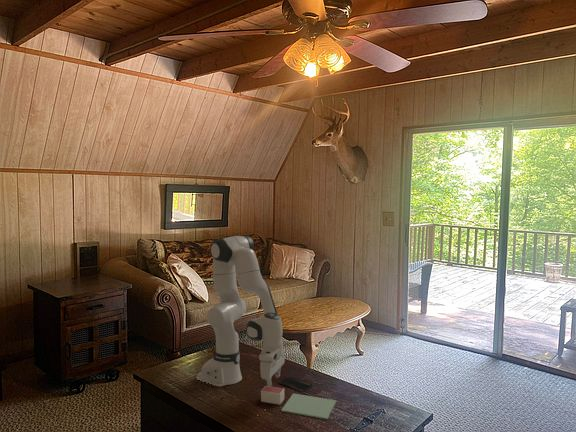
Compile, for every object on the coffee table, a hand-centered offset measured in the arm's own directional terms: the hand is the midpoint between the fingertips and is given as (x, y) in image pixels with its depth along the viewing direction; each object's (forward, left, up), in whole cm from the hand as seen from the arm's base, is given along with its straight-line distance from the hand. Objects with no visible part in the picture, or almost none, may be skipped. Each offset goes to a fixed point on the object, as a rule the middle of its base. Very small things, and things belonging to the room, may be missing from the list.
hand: (273, 381), depth 191 cm
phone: (+4, +18, -9) cm, 21 cm away
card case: (-1, 0, -9) cm, 9 cm away
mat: (+16, 0, -9) cm, 19 cm away
